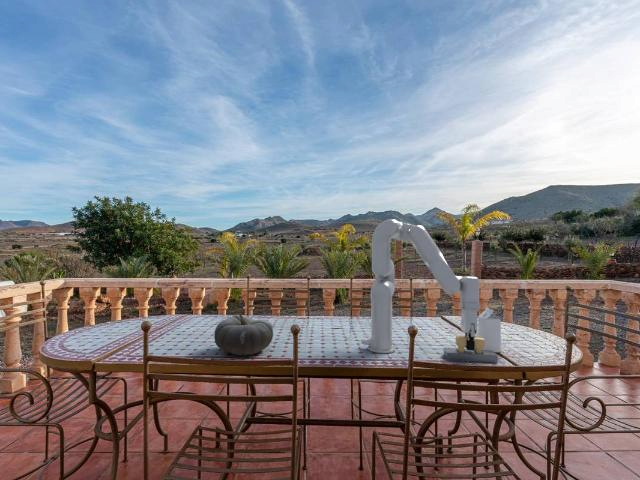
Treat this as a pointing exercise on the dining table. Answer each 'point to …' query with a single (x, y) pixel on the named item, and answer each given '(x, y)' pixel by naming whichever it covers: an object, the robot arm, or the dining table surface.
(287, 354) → the dining table surface
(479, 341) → the clip
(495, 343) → the milk carton
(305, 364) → the dining table surface
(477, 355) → the grey block with holes
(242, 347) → the gourd
